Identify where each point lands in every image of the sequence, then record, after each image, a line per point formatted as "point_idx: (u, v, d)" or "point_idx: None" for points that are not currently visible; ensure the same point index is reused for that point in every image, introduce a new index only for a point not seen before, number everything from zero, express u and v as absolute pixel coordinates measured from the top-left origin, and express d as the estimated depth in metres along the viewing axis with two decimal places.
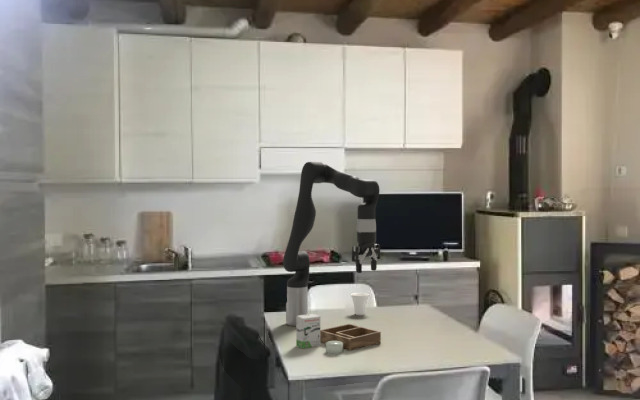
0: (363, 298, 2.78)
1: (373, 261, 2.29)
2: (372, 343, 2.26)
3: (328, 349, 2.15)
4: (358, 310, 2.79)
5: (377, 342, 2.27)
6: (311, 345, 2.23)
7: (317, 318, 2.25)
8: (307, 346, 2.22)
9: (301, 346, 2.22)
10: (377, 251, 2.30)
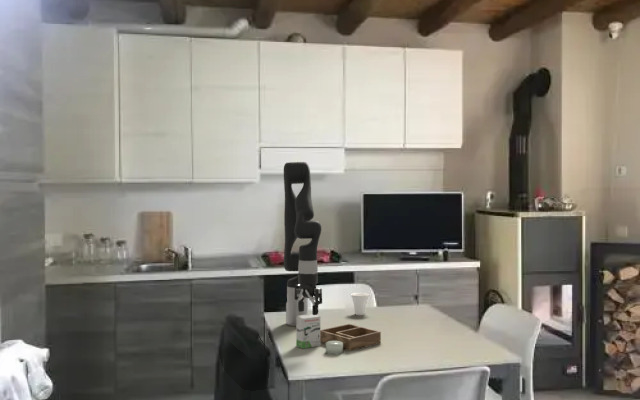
0: (363, 298, 2.78)
1: (302, 302, 2.28)
2: (372, 343, 2.26)
3: (328, 349, 2.15)
4: (358, 310, 2.79)
5: (377, 342, 2.27)
6: (311, 345, 2.23)
7: (317, 318, 2.25)
8: (307, 346, 2.22)
9: (301, 346, 2.22)
10: (300, 291, 2.30)
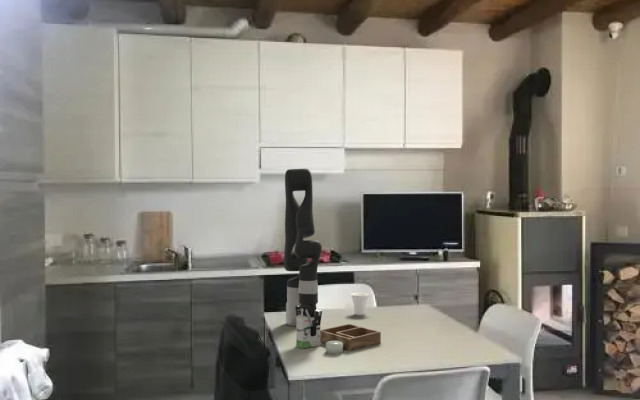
0: (363, 298, 2.78)
1: None
2: (372, 343, 2.26)
3: (328, 349, 2.15)
4: (358, 310, 2.79)
5: (377, 342, 2.27)
6: (311, 345, 2.23)
7: None
8: (307, 346, 2.22)
9: (301, 346, 2.22)
10: None
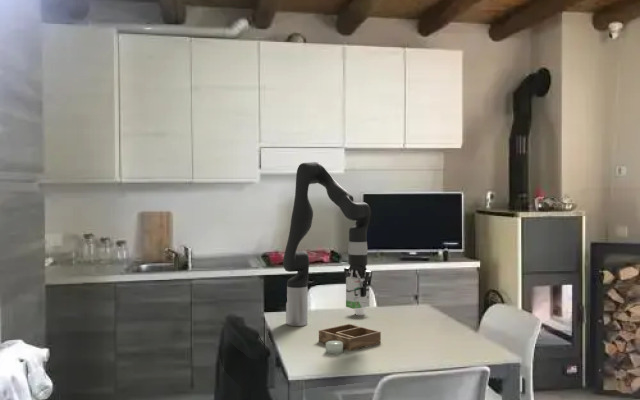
0: None
1: None
2: (372, 343, 2.26)
3: (328, 349, 2.15)
4: (358, 310, 2.79)
5: (377, 342, 2.27)
6: (361, 306, 2.26)
7: None
8: (357, 306, 2.25)
9: (351, 306, 2.24)
10: (350, 274, 2.32)
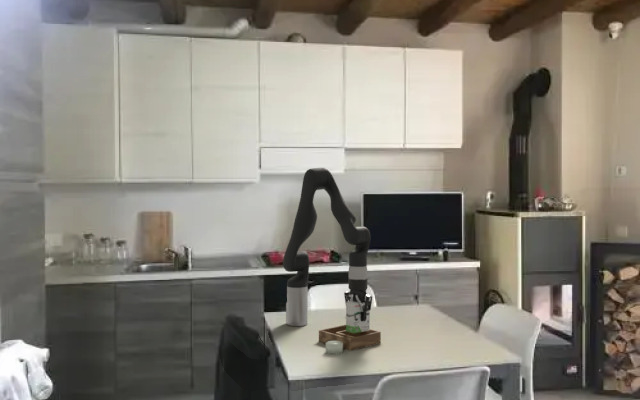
0: None
1: None
2: (372, 343, 2.26)
3: (328, 349, 2.15)
4: None
5: (377, 342, 2.27)
6: (361, 330, 2.26)
7: None
8: (357, 331, 2.25)
9: (351, 331, 2.24)
10: (350, 298, 2.32)
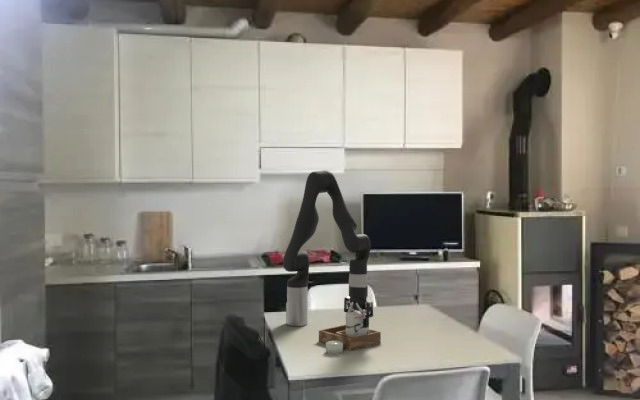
0: None
1: None
2: (372, 343, 2.26)
3: (328, 349, 2.15)
4: None
5: (377, 342, 2.27)
6: None
7: None
8: None
9: None
10: (349, 304, 2.33)
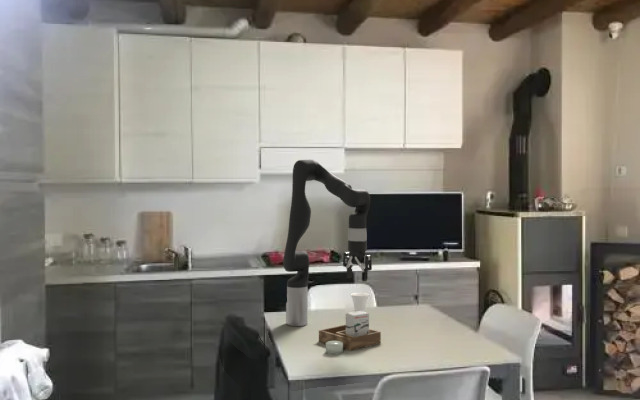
0: (363, 298, 2.78)
1: (350, 269, 2.35)
2: (372, 343, 2.26)
3: (328, 349, 2.15)
4: (358, 310, 2.79)
5: (377, 342, 2.27)
6: None
7: (366, 315, 2.28)
8: None
9: None
10: (348, 259, 2.36)
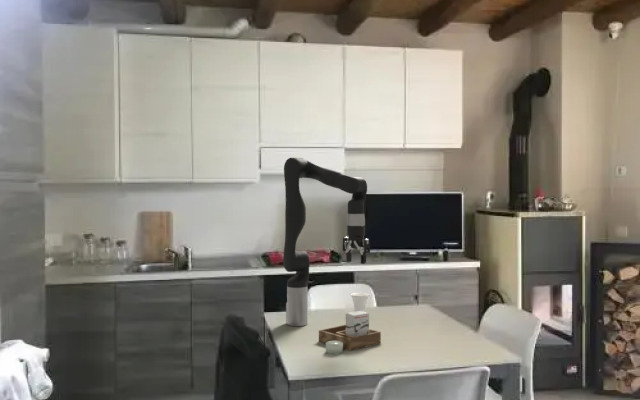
0: (363, 298, 2.78)
1: (349, 253, 2.46)
2: (372, 343, 2.26)
3: (328, 349, 2.15)
4: (358, 310, 2.79)
5: (377, 342, 2.27)
6: None
7: (366, 315, 2.28)
8: None
9: None
10: (347, 243, 2.48)
